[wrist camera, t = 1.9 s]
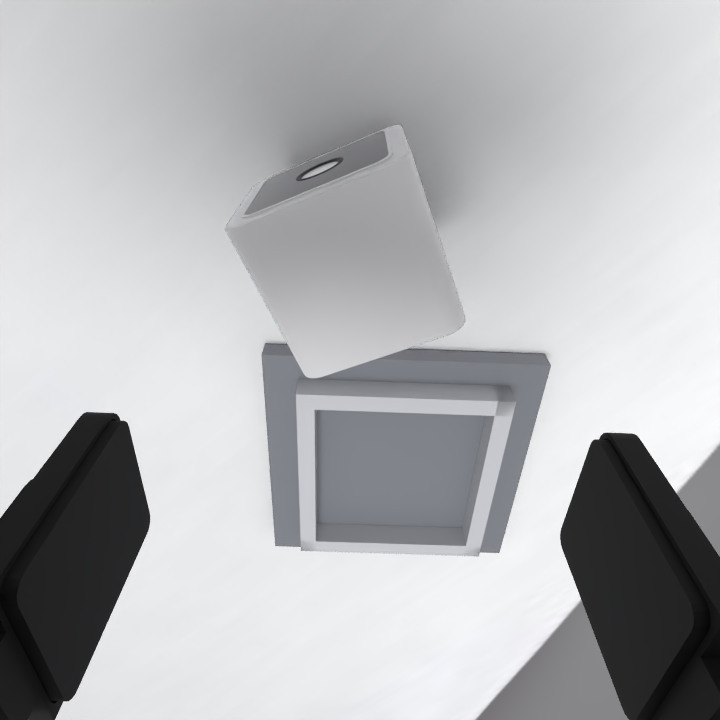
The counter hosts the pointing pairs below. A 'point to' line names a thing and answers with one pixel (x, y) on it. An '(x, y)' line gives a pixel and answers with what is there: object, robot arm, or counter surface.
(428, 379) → the mounting plate
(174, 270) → the counter surface
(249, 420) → the counter surface
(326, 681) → the counter surface
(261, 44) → the counter surface
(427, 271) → the security camera
